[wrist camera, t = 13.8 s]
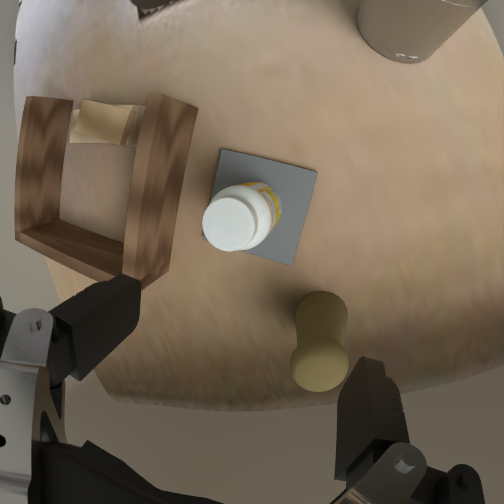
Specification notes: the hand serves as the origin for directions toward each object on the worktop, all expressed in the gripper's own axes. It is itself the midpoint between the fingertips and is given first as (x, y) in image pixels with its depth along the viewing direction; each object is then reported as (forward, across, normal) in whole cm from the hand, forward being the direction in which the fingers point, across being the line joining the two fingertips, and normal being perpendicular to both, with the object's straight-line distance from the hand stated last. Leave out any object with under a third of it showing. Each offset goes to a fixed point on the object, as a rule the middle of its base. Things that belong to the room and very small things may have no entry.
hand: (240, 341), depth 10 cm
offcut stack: (+22, +24, -6) cm, 34 cm away
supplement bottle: (+22, +4, 0) cm, 22 cm away
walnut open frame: (+22, +24, 0) cm, 33 cm away
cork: (+22, -6, +10) cm, 25 cm away
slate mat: (+22, +4, 0) cm, 23 cm away
